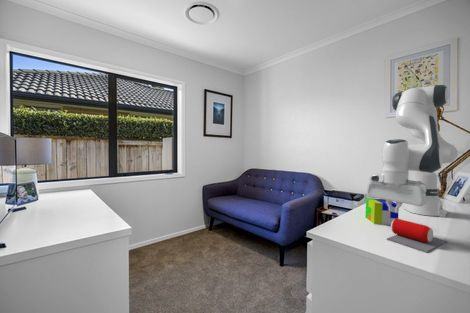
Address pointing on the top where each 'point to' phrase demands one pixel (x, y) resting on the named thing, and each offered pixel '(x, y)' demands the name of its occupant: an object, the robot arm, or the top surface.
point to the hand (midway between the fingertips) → (393, 211)
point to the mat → (417, 243)
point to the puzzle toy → (380, 211)
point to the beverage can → (412, 230)
